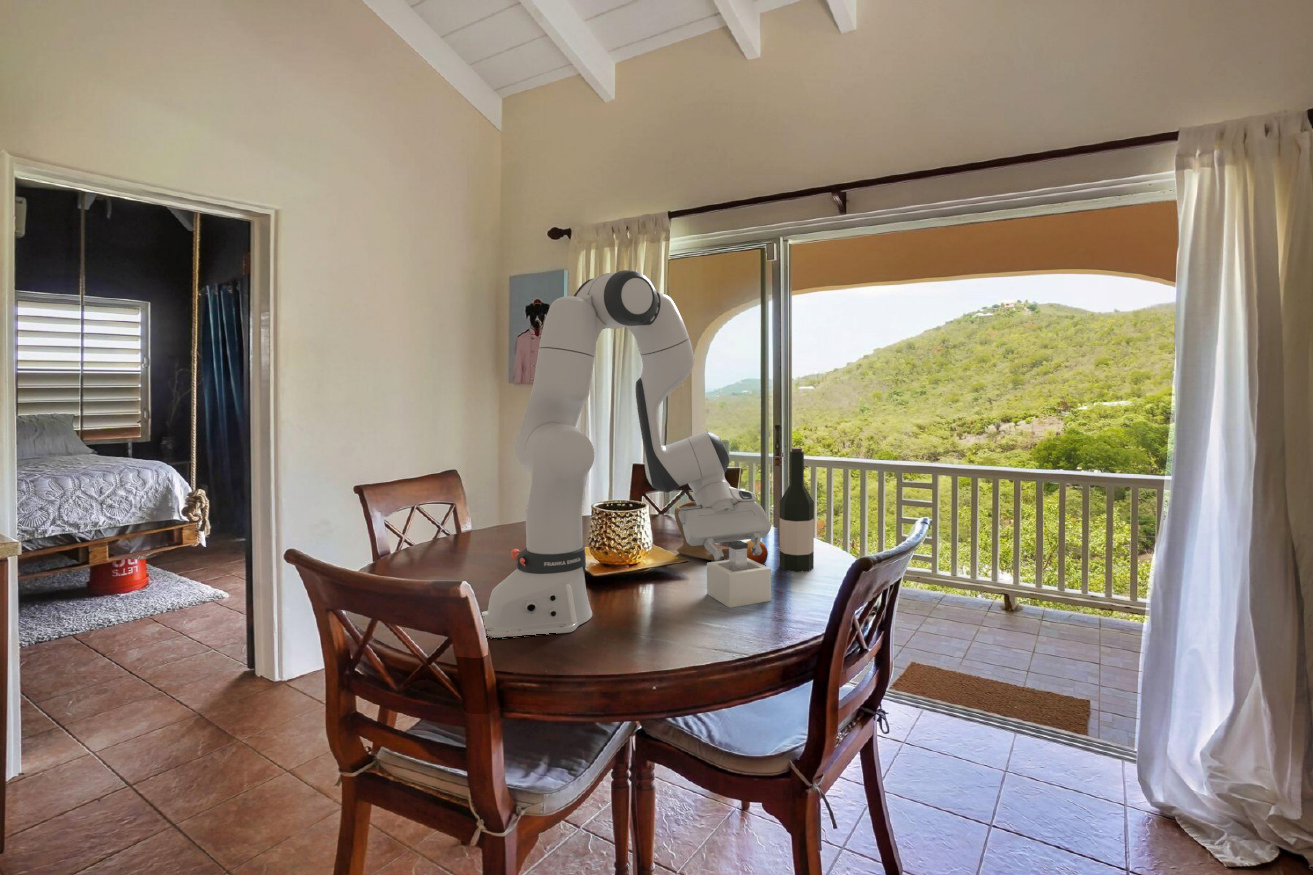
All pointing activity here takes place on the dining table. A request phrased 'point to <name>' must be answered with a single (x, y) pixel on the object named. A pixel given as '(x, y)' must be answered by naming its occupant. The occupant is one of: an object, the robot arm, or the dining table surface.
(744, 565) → the capped white pillar
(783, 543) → the wine bottle
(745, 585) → the holder
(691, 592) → the dining table surface
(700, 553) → the brown boot
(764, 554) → the fruit
